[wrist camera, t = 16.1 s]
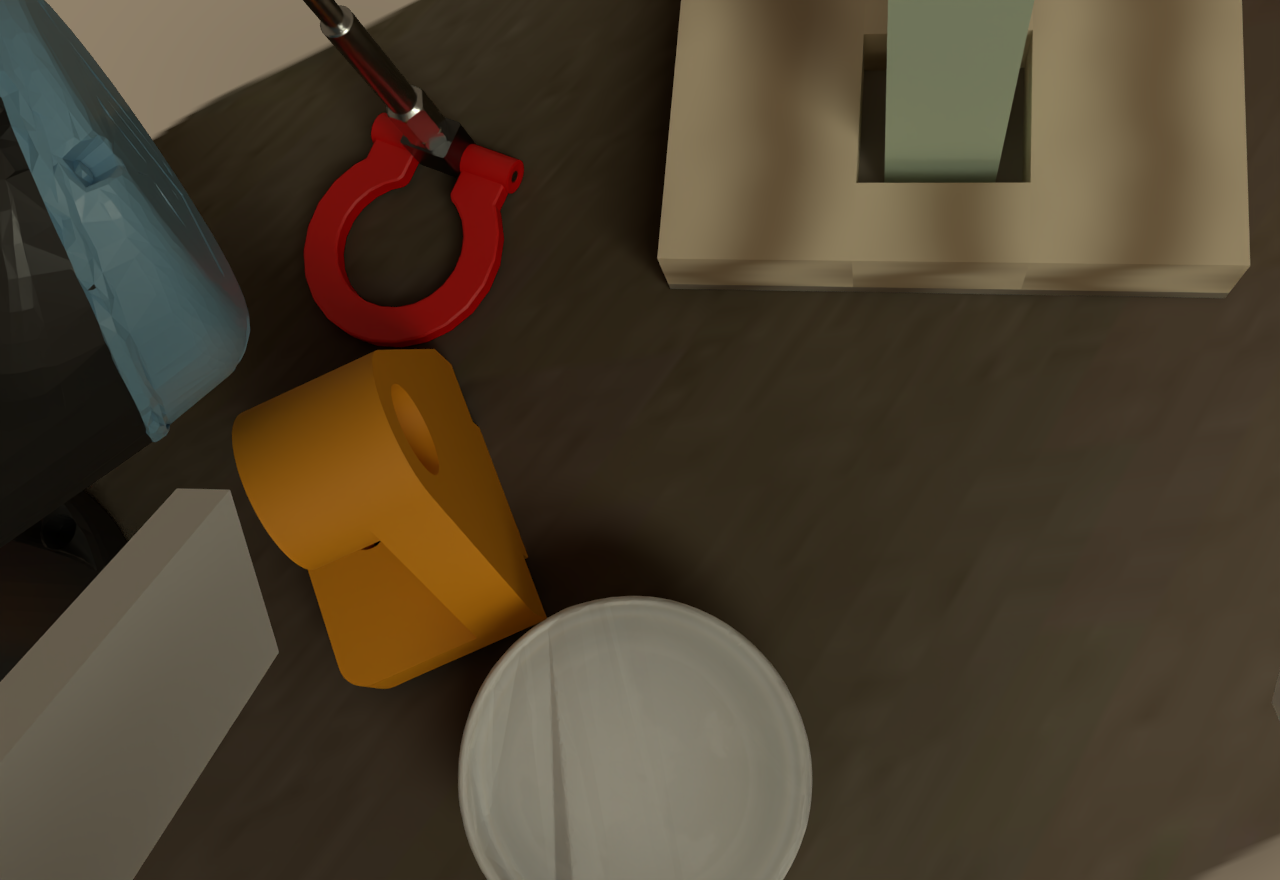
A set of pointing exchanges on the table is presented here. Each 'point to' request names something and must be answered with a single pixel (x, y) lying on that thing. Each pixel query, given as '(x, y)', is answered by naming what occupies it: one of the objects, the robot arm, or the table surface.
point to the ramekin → (634, 751)
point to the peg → (951, 87)
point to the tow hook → (390, 164)
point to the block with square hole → (959, 212)
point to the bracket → (389, 514)
